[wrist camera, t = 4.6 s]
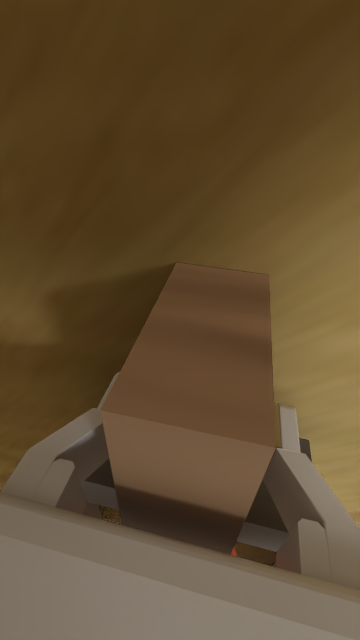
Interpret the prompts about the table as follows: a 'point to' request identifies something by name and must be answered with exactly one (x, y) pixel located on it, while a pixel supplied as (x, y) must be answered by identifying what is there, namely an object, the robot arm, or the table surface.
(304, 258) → the table surface
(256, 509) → the tan grey t-shaped block
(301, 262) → the table surface
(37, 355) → the table surface
